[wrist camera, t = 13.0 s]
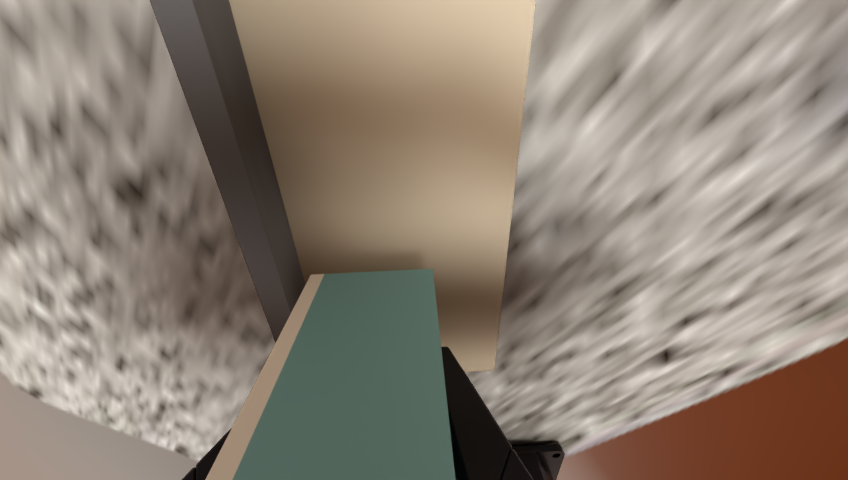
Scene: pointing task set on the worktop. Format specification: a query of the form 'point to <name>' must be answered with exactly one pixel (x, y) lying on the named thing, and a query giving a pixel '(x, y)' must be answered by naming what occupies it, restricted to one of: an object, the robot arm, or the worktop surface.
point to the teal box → (349, 387)
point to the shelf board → (363, 142)
